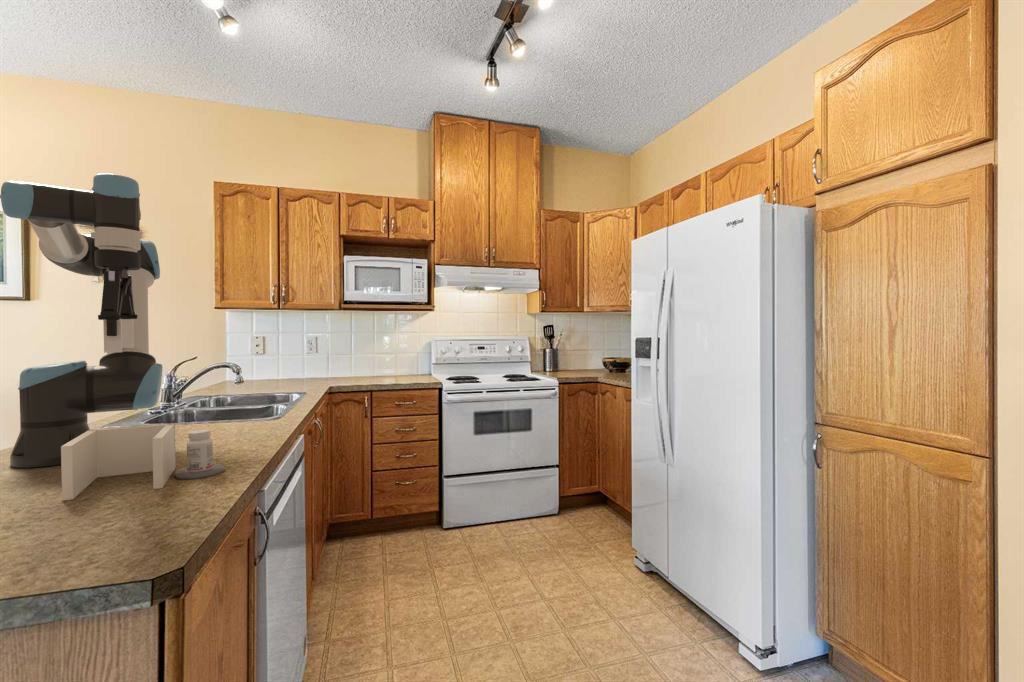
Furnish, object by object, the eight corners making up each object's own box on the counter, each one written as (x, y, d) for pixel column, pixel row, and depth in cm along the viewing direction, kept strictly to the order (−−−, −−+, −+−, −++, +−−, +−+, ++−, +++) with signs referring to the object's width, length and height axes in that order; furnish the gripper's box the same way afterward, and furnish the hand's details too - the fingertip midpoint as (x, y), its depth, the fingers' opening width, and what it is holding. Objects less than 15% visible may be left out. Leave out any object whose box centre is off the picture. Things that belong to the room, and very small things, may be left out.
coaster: (178, 470, 105) (178, 466, 105) (225, 465, 109) (225, 461, 109) (171, 482, 97) (171, 478, 97) (223, 475, 101) (222, 472, 101)
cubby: (90, 476, 101) (89, 429, 100) (175, 467, 108) (174, 423, 107) (62, 500, 87) (60, 446, 86) (162, 487, 94) (161, 437, 93)
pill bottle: (207, 465, 107) (207, 427, 106) (217, 468, 104) (216, 430, 104) (183, 470, 103) (182, 431, 103) (192, 474, 100) (191, 434, 100)
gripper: (108, 254, 109) (110, 346, 110) (78, 241, 88) (81, 355, 89) (148, 257, 113) (150, 345, 114) (129, 245, 92) (131, 354, 93)
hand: (119, 350), depth 101 cm, fingers open, 13 cm apart
